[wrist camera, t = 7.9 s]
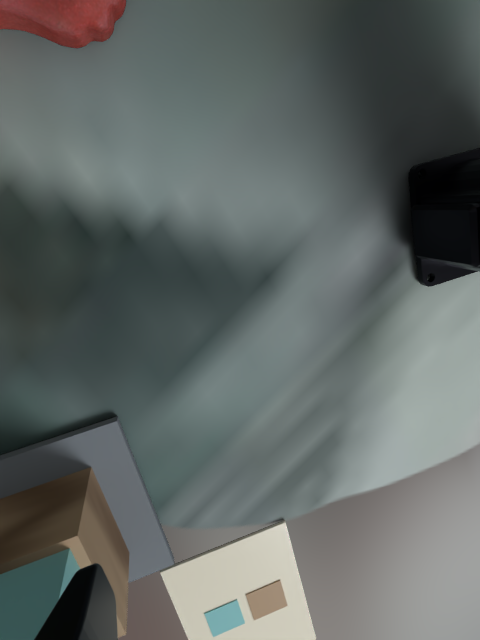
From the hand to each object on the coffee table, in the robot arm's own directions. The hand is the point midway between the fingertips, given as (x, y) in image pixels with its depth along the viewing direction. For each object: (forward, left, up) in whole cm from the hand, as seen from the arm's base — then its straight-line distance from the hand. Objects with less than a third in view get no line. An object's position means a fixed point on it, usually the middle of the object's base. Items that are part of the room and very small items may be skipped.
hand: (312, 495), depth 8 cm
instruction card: (+3, +19, -12) cm, 23 cm away
